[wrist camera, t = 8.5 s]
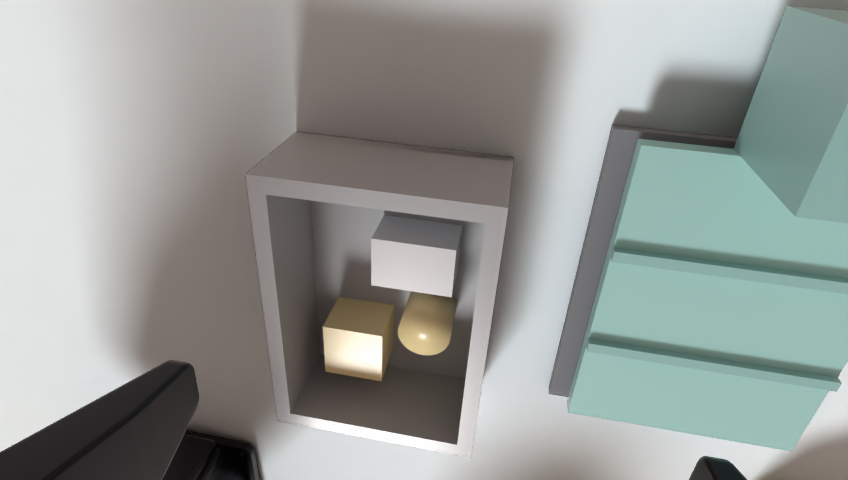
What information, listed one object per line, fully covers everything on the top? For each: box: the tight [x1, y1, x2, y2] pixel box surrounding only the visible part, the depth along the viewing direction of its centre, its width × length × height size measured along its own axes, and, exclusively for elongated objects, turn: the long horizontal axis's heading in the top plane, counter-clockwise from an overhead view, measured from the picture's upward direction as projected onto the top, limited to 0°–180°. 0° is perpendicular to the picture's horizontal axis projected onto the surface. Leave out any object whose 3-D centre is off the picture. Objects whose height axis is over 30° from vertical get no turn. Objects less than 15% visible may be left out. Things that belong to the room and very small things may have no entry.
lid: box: [567, 6, 848, 451], centre depth 16 cm, size 16×9×5 cm, turn 177°
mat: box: [549, 125, 737, 397], centre depth 20 cm, size 12×10×1 cm
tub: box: [245, 132, 514, 458], centre depth 20 cm, size 11×8×4 cm
